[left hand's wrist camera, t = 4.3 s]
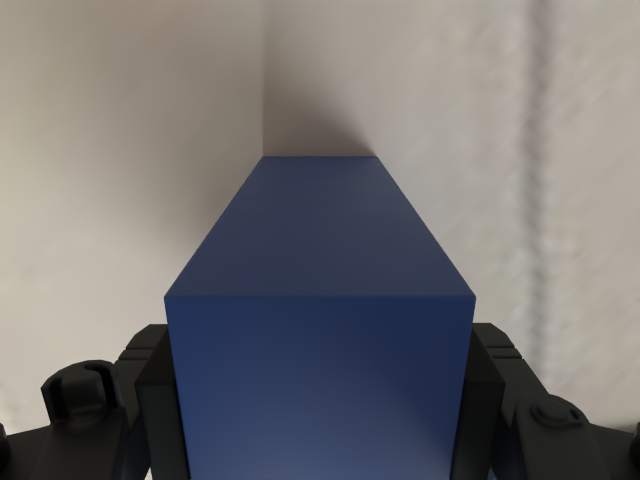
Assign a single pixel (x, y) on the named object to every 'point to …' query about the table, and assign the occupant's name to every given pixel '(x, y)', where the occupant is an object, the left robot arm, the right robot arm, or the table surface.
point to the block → (319, 331)
